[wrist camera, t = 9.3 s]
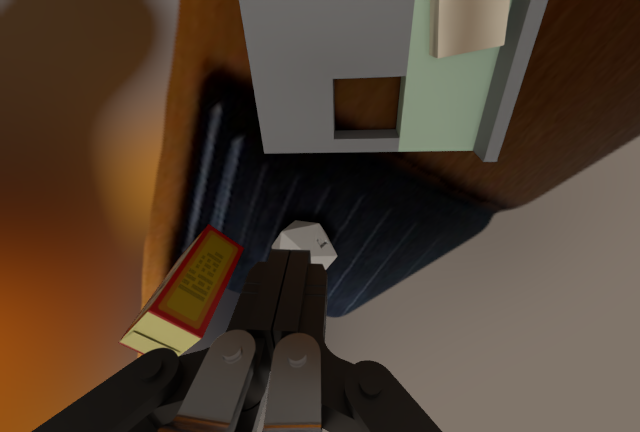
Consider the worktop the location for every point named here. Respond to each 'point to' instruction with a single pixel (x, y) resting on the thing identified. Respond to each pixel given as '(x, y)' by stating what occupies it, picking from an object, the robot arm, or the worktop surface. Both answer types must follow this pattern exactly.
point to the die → (307, 241)
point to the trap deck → (381, 75)
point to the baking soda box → (186, 296)
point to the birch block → (466, 26)
